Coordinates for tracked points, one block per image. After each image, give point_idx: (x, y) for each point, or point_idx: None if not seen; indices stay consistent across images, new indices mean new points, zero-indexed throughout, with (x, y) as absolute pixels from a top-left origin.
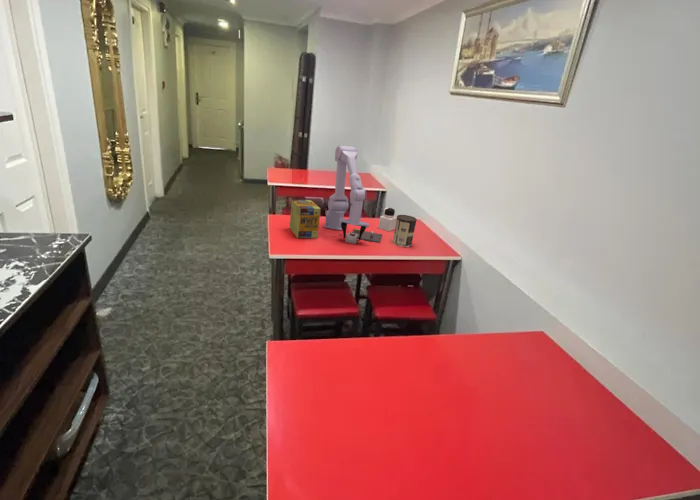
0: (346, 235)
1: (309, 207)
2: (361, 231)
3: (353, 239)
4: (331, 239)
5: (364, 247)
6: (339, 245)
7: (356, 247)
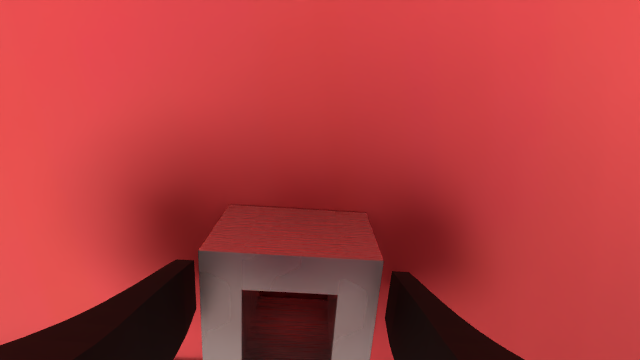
0: (382, 264)
1: None
2: (34, 355)
3: (257, 230)
4: (549, 224)
5: (92, 133)
6: (441, 49)
7: (195, 81)
